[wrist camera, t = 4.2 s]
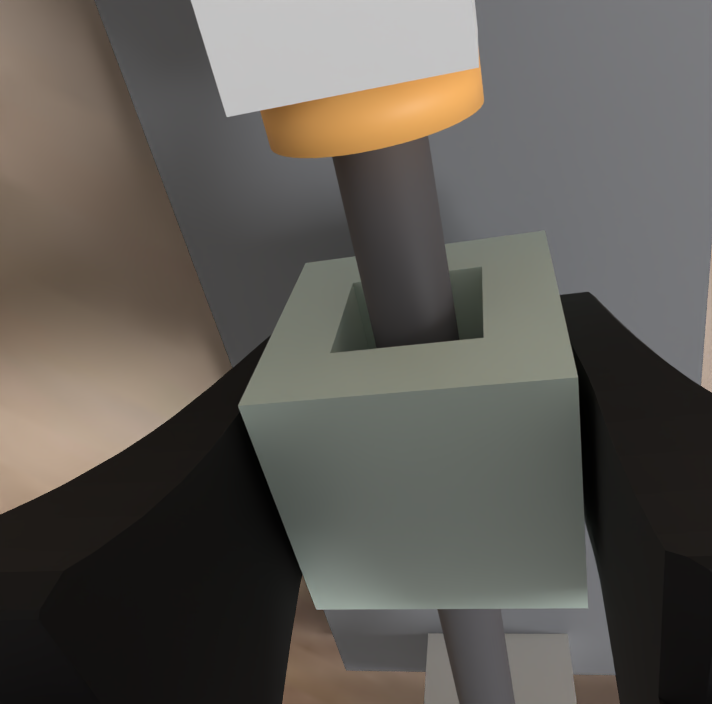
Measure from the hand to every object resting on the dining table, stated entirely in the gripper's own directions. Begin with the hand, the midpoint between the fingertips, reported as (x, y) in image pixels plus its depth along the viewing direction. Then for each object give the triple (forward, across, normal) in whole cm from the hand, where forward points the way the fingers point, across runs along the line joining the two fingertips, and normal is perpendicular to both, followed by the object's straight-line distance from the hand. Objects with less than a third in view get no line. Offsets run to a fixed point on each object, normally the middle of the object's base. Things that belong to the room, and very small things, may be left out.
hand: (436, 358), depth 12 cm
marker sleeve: (0, 0, 0) cm, 0 cm away
